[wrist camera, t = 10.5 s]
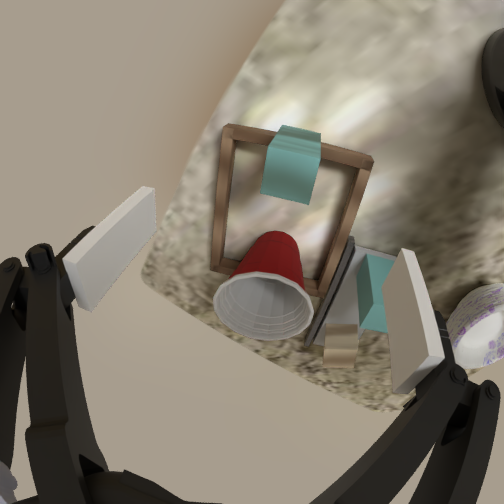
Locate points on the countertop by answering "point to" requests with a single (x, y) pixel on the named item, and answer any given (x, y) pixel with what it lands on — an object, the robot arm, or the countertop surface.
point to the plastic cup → (266, 291)
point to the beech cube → (340, 345)
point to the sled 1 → (288, 186)
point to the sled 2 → (359, 294)
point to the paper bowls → (478, 327)
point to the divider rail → (330, 289)
